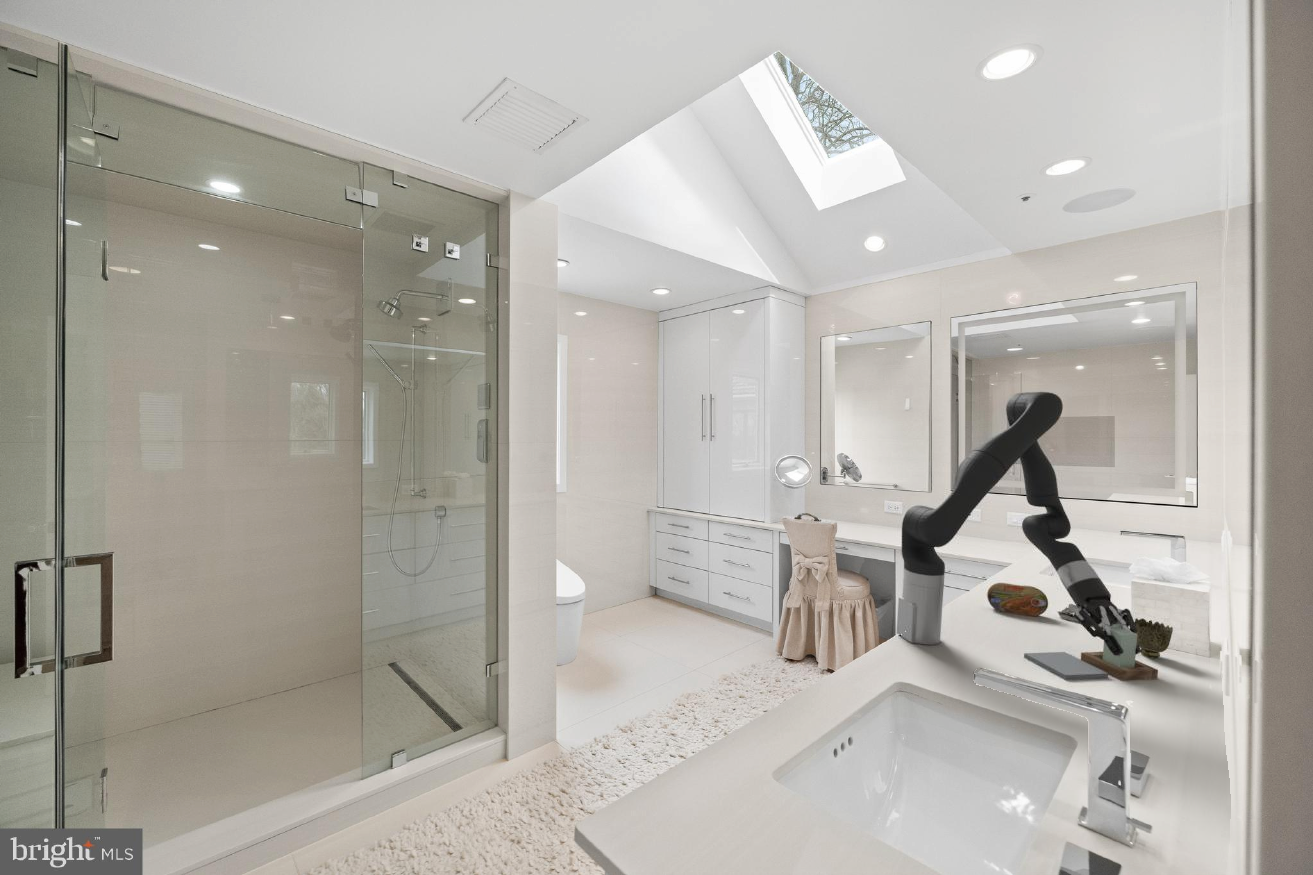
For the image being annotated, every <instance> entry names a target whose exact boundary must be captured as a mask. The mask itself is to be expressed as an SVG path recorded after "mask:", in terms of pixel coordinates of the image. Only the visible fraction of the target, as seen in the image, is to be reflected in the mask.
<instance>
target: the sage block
mask: <svg viewBox="0 0 1313 875" xmlns="http://www.w3.org/2000/svg"><path fill="white" fill-rule="evenodd" d="M1110 630H1111V632H1112V635H1111V636H1114V637H1115V639H1116V640H1117V642H1118V643H1119V645H1120V646H1121V648H1122V649H1123V651H1124V652H1123V653H1122V654H1120V655H1114V654H1113V653H1112V652H1111V651H1110V650H1109V648H1108V646H1107V645H1106V643H1105V642H1104V641H1103V650H1102V652H1103V660H1104V661H1106V662H1109V663H1111V664H1113V665H1115V666H1117V667H1119V668H1134V667H1135V660H1136V655H1137V654H1135V653H1136V644H1137V634H1136V633H1133V632H1131V631H1128V630H1125V629H1122V628H1121V627H1111V628H1110Z"/></svg>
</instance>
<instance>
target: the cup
mask: <svg viewBox="0 0 1313 875" xmlns="http://www.w3.org/2000/svg"><path fill="white" fill-rule="evenodd" d="M1134 623H1135V625H1136V628H1137V632H1136V634H1137V644H1138V646H1139V647H1140V650H1141V652H1140V654H1141V655H1142V656H1144V657H1146V656H1147V658H1150V659H1159V658H1160V656H1161V653H1163V652H1164V651H1166V650H1167V649H1168V648H1169V646H1170V643H1171V639H1172V635H1173V631H1174V629H1173V626H1170V625H1166V626H1165V624H1164V623H1163V622H1161V623H1160V622H1159V621H1154V623H1153V620H1152V619H1151V620H1148V621H1147V619H1145V618H1140V619H1139V618H1135V619H1134Z"/></svg>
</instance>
